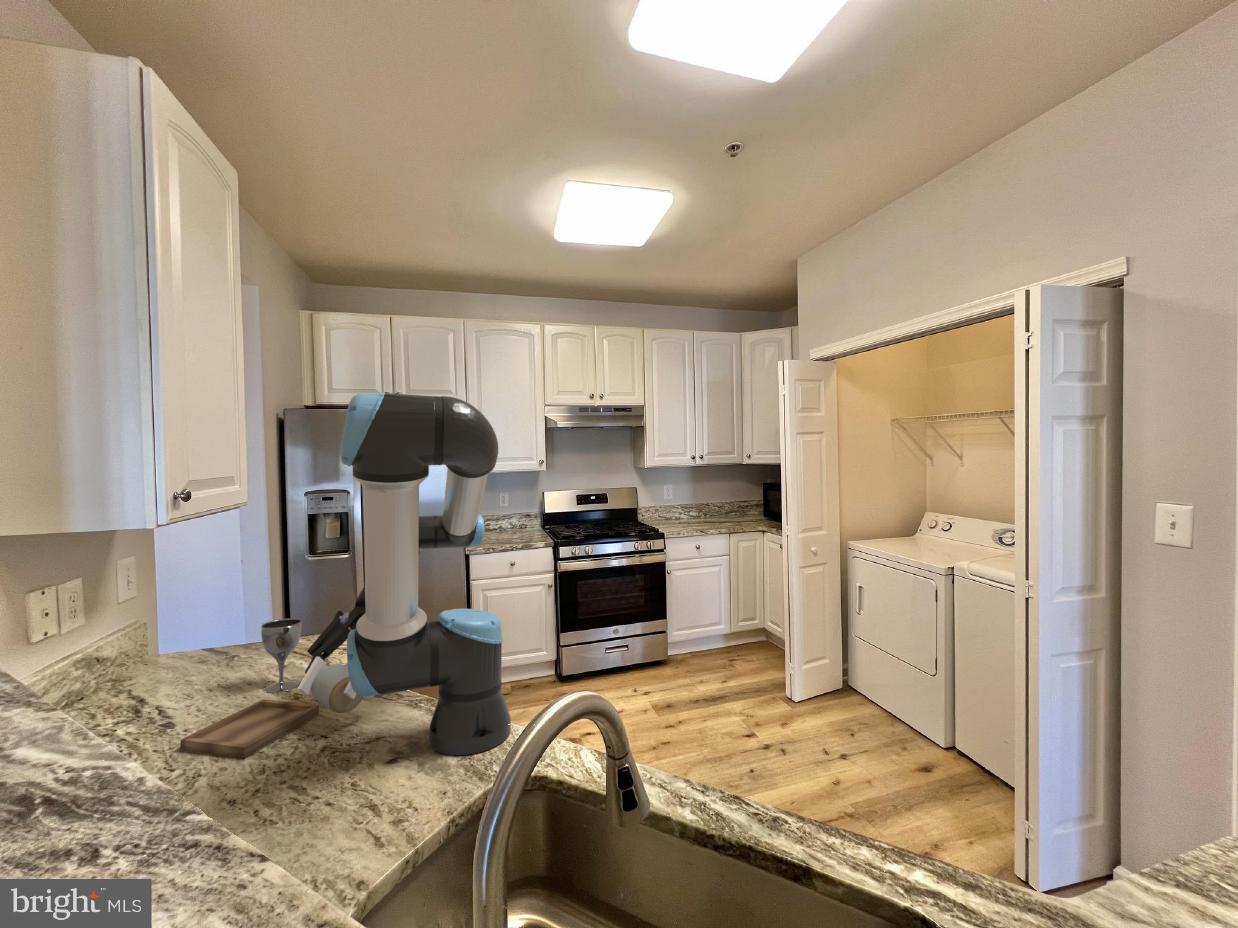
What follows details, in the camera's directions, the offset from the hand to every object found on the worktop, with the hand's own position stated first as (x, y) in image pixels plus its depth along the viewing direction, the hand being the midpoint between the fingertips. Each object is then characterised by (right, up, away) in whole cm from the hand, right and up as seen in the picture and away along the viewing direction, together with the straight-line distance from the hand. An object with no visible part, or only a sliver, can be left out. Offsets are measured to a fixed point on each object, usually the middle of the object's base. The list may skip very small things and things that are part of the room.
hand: (325, 693), depth 98 cm
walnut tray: (-15, -8, +1) cm, 17 cm away
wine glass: (-24, -9, +23) cm, 34 cm away
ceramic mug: (+1, -4, +4) cm, 7 cm away
